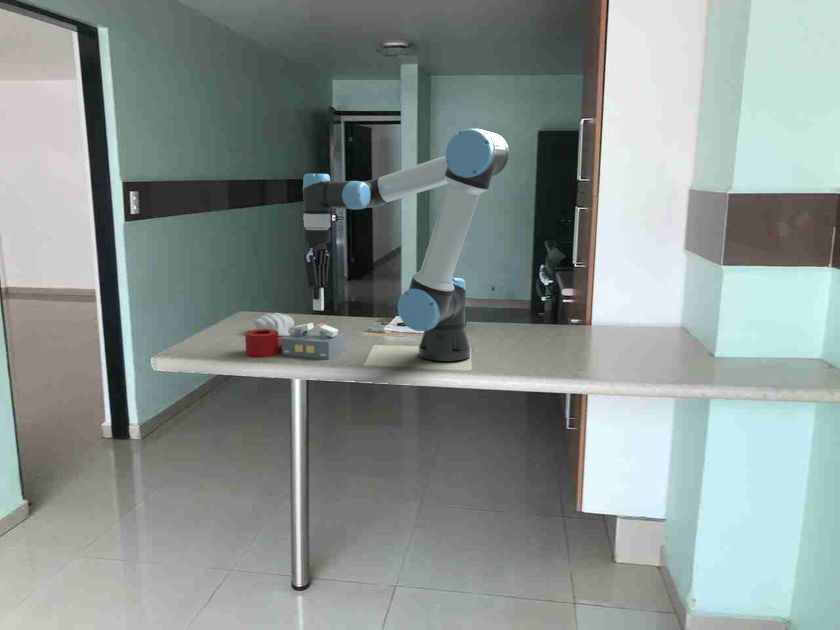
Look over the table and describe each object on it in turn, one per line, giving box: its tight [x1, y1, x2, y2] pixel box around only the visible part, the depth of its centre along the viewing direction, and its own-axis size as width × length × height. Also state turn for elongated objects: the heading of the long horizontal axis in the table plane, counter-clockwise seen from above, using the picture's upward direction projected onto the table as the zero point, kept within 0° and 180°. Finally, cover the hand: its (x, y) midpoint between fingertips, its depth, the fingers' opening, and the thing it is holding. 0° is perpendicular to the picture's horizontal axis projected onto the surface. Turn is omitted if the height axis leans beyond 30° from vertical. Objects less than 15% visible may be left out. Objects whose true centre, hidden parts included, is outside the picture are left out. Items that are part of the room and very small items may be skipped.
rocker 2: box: [313, 322, 339, 337], centre depth 198 cm, size 6×4×2 cm, turn 72°
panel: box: [280, 329, 347, 360], centre depth 199 cm, size 15×12×7 cm
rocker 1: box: [289, 322, 315, 334], centre depth 200 cm, size 6×4×2 cm, turn 72°
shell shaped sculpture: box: [254, 312, 295, 337], centre depth 224 cm, size 13×13×6 cm
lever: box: [244, 328, 282, 359], centre depth 201 cm, size 18×9×7 cm, turn 159°
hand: (318, 309), depth 197 cm, fingers closed
